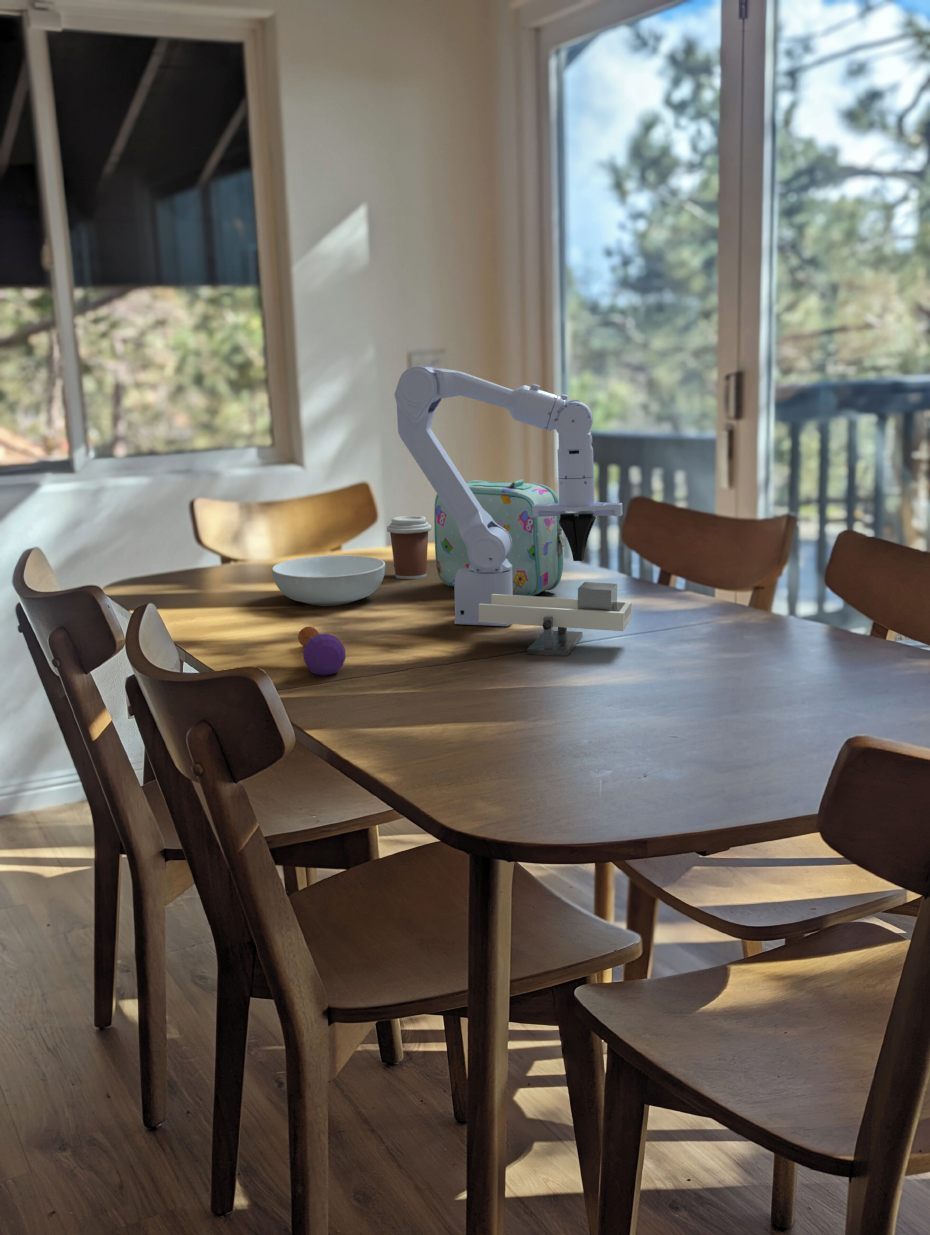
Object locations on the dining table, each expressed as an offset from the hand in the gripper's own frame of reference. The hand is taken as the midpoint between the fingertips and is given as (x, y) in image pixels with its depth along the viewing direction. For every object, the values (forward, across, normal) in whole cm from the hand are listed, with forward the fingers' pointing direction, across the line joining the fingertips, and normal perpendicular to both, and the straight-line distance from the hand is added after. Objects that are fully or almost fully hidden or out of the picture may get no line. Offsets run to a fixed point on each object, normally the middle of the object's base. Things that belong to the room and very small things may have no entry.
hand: (578, 560), depth 187 cm
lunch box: (+10, -20, +23) cm, 32 cm away
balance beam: (+6, 0, -16) cm, 17 cm away
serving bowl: (+10, -49, +8) cm, 51 cm away
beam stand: (+10, 0, -16) cm, 19 cm away
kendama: (+10, -33, -32) cm, 47 cm away
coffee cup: (+10, -42, +34) cm, 55 cm away
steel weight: (+6, +6, -16) cm, 18 cm away
